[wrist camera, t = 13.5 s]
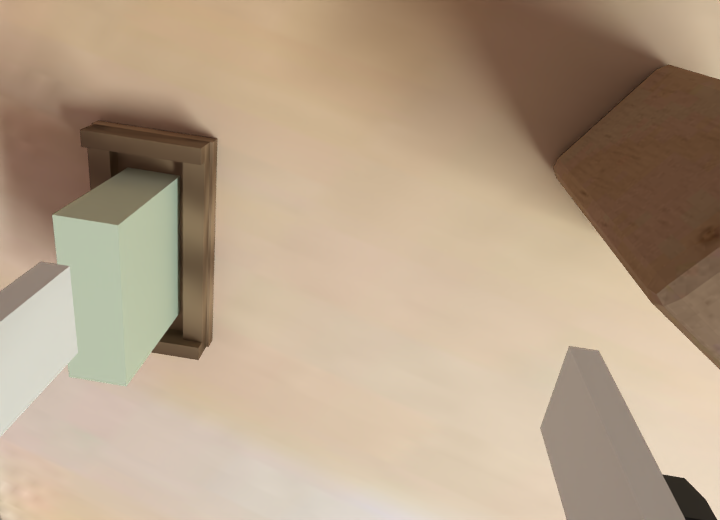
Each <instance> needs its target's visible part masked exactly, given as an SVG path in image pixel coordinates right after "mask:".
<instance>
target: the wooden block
mask: <svg viewBox="0 0 720 520" xmlns="http://www.w3.org/2000/svg"><path fill="white" fill-rule="evenodd" d="M553 169H554V172H555V175H556V178H557V179H558V180H559V182H560V183H561V184H562V186H563V187H564V188H565V190H566V191H567V192H568V194H569V195H570V196H571V197H572V199H573V200H574V201H575V203H576V204H577V205H578V207H579V208H580V209H581V211H582V212H583V213H584V215H585V216H586V217H587V218H588V220H589V221H590V222H591V224H592V225H593V226H594V228H595V229H596V230H597V232H598V233H599V234H600V236H601V237H602V238H603V240H604V241H605V242H606V243H607V245H608V246H609V247H610V249H611V250H612V251H613V253H614V254H615V255H616V257H617V258H618V259H619V261H620V262H621V263H622V264H623V266H624V267H625V268H626V270H627V271H628V272H629V274H630V275H631V276H632V278H633V279H634V280H635V282H636V283H637V284H638V285H639V287H640V288H641V289H642V291H643V292H644V293H645V295H646V296H647V297H648V299H649V300H650V301H651V303H653V304H654V305H655V306H656V307H657V308H658V309H659V310H660V311H661V312H662V313H663V314H664V315H665V316H666V317H667V318H668V319H669V320H670V321H671V322H672V323H673V324H674V325H675V326H676V327H677V328H678V329H679V330H680V331H681V332H682V333H683V334H684V335H685V336H686V337H687V338H688V339H689V340H690V341H691V342H692V343H693V344H694V345H695V346H696V347H697V348H698V349H699V350H700V351H702V352H703V353H704V354H705V355H706V356H707V357H708V358H709V359H710V360H711V361H712V362H713V363H714V364H715V365H716V366H717V367H718V368H719V369H720V80H719V79H716V78H712V77H709V76H705V75H702V74H699V73H695V72H692V71H688V70H685V69H682V68H678V67H675V66H671V65H666V66H664V67H662V68H659V69H657V70H656V71H654V72H653V73H652V74H651V75H650V76H649V77H648V78H647V79H646V80H644V81H643V82H642V83H641V84H640V85H639V86H638V87H637V88H636V89H634V90H633V91H632V92H631V93H630V94H629V95H628V96H627V97H626V98H624V99H623V100H622V101H621V102H620V103H619V104H618V105H617V106H616V107H615V108H613V109H612V110H611V111H610V112H609V113H608V114H607V115H606V116H605V117H603V118H602V119H601V120H600V121H599V122H598V123H597V124H596V125H595V126H593V127H592V128H591V129H590V130H589V131H588V132H587V133H586V134H585V135H584V136H582V137H581V138H580V139H579V140H578V141H577V142H576V143H575V144H574V145H572V146H571V147H570V148H569V149H568V150H567V151H566V152H565V153H564V154H562V155H561V156H560V157H559V158H558V160H557V162H556V164H555V165H554V167H553Z"/></svg>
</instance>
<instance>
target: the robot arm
mask: <svg viewBox="0 0 720 520" xmlns="http://www.w3.org/2000/svg"><path fill="white" fill-rule="evenodd" d="M77 353H78V347H77V337H76V327H75V316H74V306H73V296H72V286H71V275H70V266H66V265H59V264H53V263H47V262H40V263H38V264H37V265H36V266H34V267H33V268H31V269H30V270H29V271H27V272H26V273H25V274H23V275H22V276H20V277H19V278H18V279H16V280H15V281H14V282H12V283H11V284H10V285H8V286H7V287H5V288H4V289H3V290H1V291H0V437H1V436H2V435H3V434H4V432H5V431H6V430H7V429H8V428H9V427H10V426H11V425H12V424H13V423H14V422H15V421H16V419H17V418H18V417H19V416H20V415H21V414H22V413H23V412H24V411H25V410H26V409H27V408H28V406H29V405H30V404H31V403H32V402H33V401H34V400H35V399H36V398H37V397H38V396H39V395H40V393H41V392H42V391H43V390H44V389H45V388H46V387H47V386H48V385H49V384H50V383H51V382H52V380H53V379H54V378H55V377H56V376H57V375H58V374H59V373H60V372H61V371H62V370H63V369H64V367H65V366H66V365H67V364H68V363H69V362H70V361H71V360H72V359H73V358H74V357H75V356H76V354H77ZM540 429H541V432H542V436H543V439H544V443H545V446H546V450H547V453H548V456H549V460H550V463H551V467H552V470H553V474H554V477H555V481H556V484H557V488H558V491H559V495H560V498H561V501H562V505H563V508H564V512H565V515H566V519H567V520H717V519H716V517H715V515H714V513H713V512H712V510H711V508H710V506H709V505H708V503H707V501H706V499H705V498H704V497H703V496H702V495H701V494H700V493H699V492H698V491H697V490H696V489H695V488H694V487H693V486H692V485H691V484H690V483H689V482H688V481H687V480H686V479H685V478H680V477H674V476H668V475H662V473H661V471H660V469H659V467H658V465H657V463H656V461H655V459H654V457H653V455H652V454H651V452H650V450H649V448H648V446H647V444H646V442H645V440H644V438H643V436H642V434H641V432H640V430H639V428H638V426H637V424H636V422H635V420H634V418H633V416H632V415H631V413H630V411H629V409H628V407H627V405H626V403H625V401H624V399H623V397H622V395H621V393H620V391H619V389H618V387H617V385H616V383H615V381H614V379H613V377H612V375H611V374H610V372H609V370H608V368H607V366H606V364H605V362H604V360H603V358H602V356H601V354H600V352H599V351H598V350H591V349H585V348H579V347H573V346H569V348H568V351H567V353H566V356H565V359H564V362H563V365H562V368H561V370H560V373H559V376H558V379H557V382H556V385H555V388H554V390H553V393H552V396H551V399H550V402H549V405H548V407H547V410H546V413H545V416H544V419H543V422H542V425H541V427H540Z"/></svg>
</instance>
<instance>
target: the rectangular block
mask: <svg viewBox="0 0 720 520" xmlns="http://www.w3.org/2000/svg"><path fill="white" fill-rule="evenodd" d="M52 218H53V228H54V237H55V247H56V256H57V264H59V265H66V266H70V275H71V286H72V296H73V306H74V316H75V327H76V337H77V347H78V353H77V354H76V356H75V357H74V358H73V359H72V360H71V361H70V362H69V363H68V371H69V377H73V378H79V379H85V380H91V381H97V382H103V383H109V384H115V385H121V386H127V385H128V384H129V382H130V381H131V379H132V378H133V377H134V375H135V374H136V373H137V371H138V370H139V368H140V367H141V366H142V364H143V363H144V361H145V360H146V359H147V357H148V356H149V355H150V353H151V352H152V350H153V349H154V348H155V346H156V345H157V343H158V342H159V341H160V339H161V338H162V337H163V335H164V334H165V332H166V331H167V330H168V328H169V327H170V325H171V324H172V323H173V321H174V320H175V319H176V317H177V316H178V314H179V313H180V176H178V175H172V174H165V173H159V172H153V171H147V170H140V169H134V168H126V169H125V170H123V171H121V172H120V173H118V174H117V175H115V176H113V177H112V178H110V179H109V180H107V181H105V182H104V183H102V184H101V185H99V186H97V187H96V188H94V189H93V190H91V191H89V192H88V193H86V194H85V195H83V196H81V197H80V198H78V199H76V200H75V201H73V202H72V203H70V204H68V205H67V206H65V207H64V208H62V209H60V210H59V211H57V212H56V213H54V214H52Z"/></svg>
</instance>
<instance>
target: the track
mask: <svg viewBox="0 0 720 520" xmlns="http://www.w3.org/2000/svg"><path fill="white" fill-rule="evenodd" d="M80 135H81V147H87V148H88V161H89V174H90V188H91V190H93V189H94V188H96V187H97V186H99V185H101V184H102V183H104V182H105V181H107V180H109V179H110V178H112V177H113V176H115V175H117V174H118V173H120V172H121V171H123V170H125V169H126V168H134V169H140V170H147V171H153V172H159V173H165V174H172V175H178V176H180V313H179V314H178V316H177V317H176V319H175V320H174V321H173V323H172V324H171V325H170V327H169V328H168V330H167V331H166V332H165V334H164V335H163V337H162V338H161V339H160V341H159V342H158V343H157V345H156V346H155V348H154V349H153V350H152V352H153V353H159V354H165V355H171V356H177V357H183V358H190V359H196V360H199V358H200V356H201V355H202V353H203V351H204V349H205V348H206V346H207V347H209V345H210V343H211V342H212V327H213V287H214V248H215V209H216V169H217V139H214V138H208V137H201V136H195V135H189V134H182V133H176V132H169V131H163V130H156V129H150V128H143V127H137V126H130V125H124V124H118V123H111V122H105V121H96V122H94V123H92V125H90V126H88V127H86V128H83V129H81V130H80Z"/></svg>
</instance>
